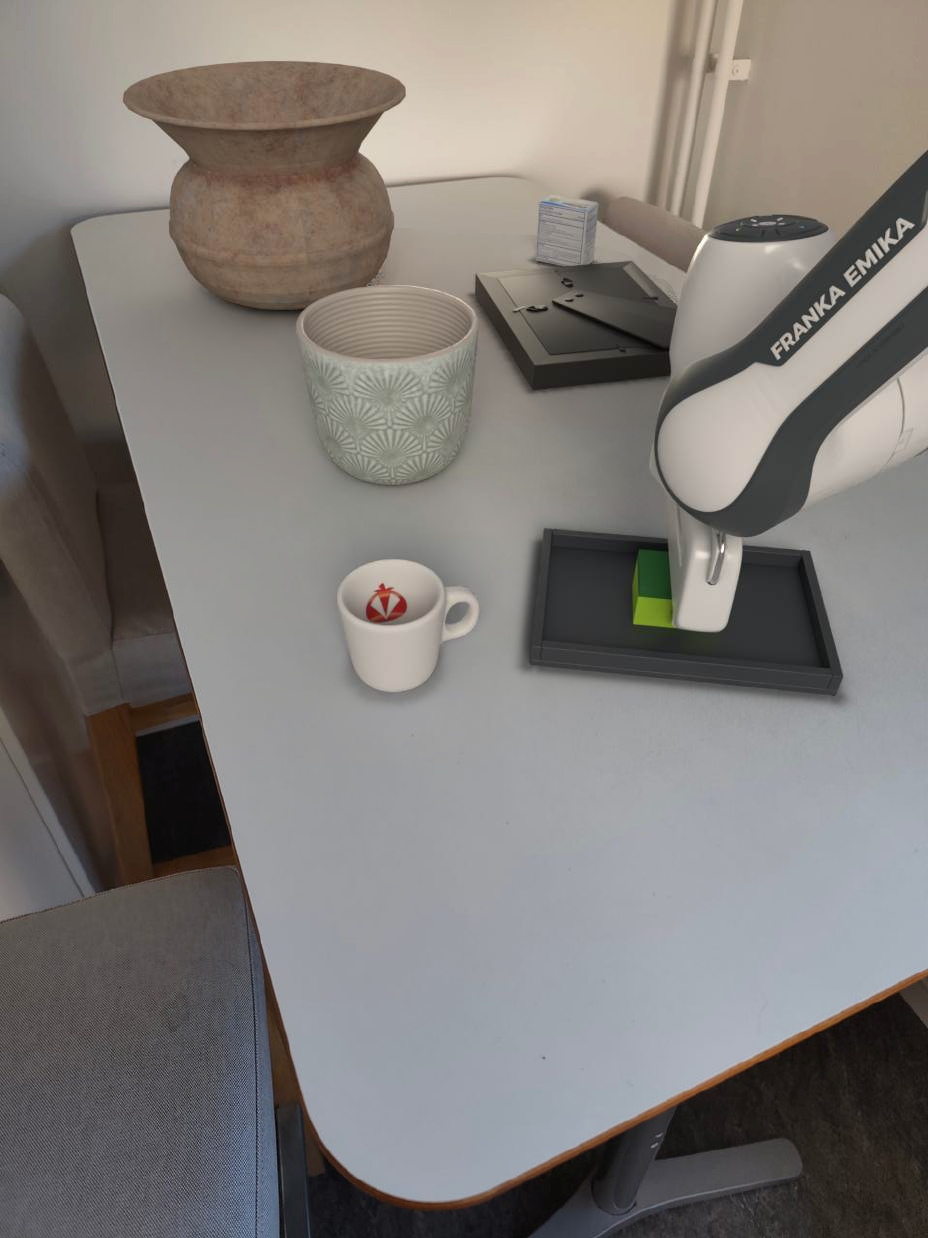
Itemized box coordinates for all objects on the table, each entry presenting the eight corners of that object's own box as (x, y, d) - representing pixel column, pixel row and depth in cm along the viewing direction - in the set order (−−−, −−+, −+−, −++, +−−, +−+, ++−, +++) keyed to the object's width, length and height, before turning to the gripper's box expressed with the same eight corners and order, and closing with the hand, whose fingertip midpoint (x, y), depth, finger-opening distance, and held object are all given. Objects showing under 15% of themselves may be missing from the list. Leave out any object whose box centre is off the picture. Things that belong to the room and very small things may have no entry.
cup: (461, 618, 73) (462, 542, 67) (493, 684, 67) (497, 607, 62) (335, 645, 70) (325, 568, 65) (357, 716, 65) (349, 639, 59)
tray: (803, 568, 78) (810, 550, 77) (835, 695, 67) (844, 677, 65) (542, 545, 80) (543, 527, 79) (529, 665, 69) (531, 646, 67)
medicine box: (593, 262, 132) (600, 201, 126) (581, 271, 129) (587, 210, 124) (547, 252, 135) (551, 192, 129) (534, 261, 132) (538, 201, 127)
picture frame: (714, 370, 106) (629, 282, 127) (721, 338, 104) (633, 252, 124) (532, 389, 102) (475, 295, 123) (535, 356, 99) (475, 265, 120)
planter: (366, 406, 99) (356, 272, 89) (502, 442, 93) (508, 303, 83) (280, 480, 88) (257, 336, 77) (428, 526, 82) (425, 378, 72)
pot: (320, 232, 141) (302, 50, 124) (461, 295, 122) (463, 92, 106) (124, 285, 124) (72, 83, 107) (254, 369, 105) (217, 140, 88)
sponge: (714, 592, 75) (724, 556, 72) (719, 632, 71) (729, 595, 68) (632, 585, 75) (638, 548, 72) (632, 624, 72) (639, 587, 69)
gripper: (777, 542, 55) (729, 690, 64) (743, 388, 70) (708, 527, 79) (676, 533, 55) (643, 682, 65) (663, 382, 70) (638, 521, 80)
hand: (679, 595), depth 72 cm, fingers open, 5 cm apart
